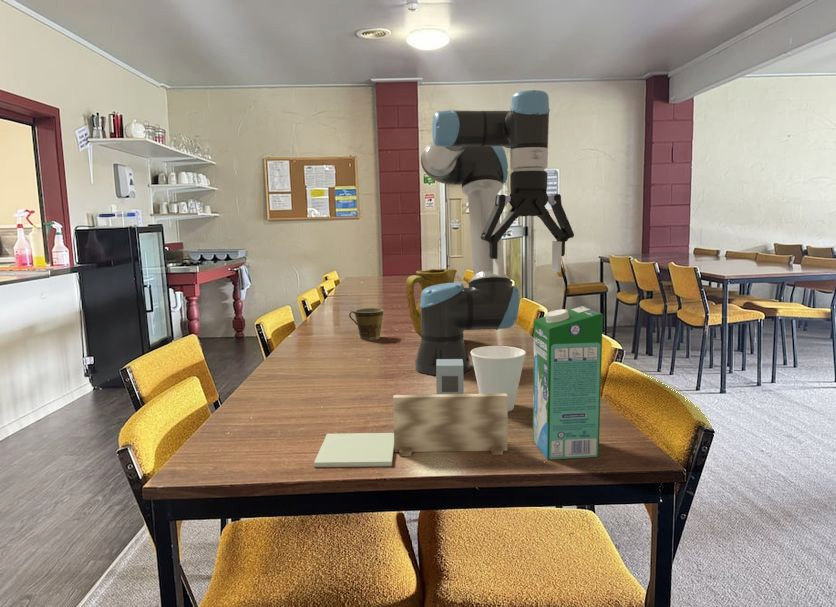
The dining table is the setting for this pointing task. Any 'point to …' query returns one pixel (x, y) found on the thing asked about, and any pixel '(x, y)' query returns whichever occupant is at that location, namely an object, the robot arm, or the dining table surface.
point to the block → (449, 376)
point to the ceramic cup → (368, 322)
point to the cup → (498, 370)
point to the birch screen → (450, 423)
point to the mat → (356, 450)
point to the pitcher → (425, 280)
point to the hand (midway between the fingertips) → (527, 273)
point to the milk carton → (567, 383)
